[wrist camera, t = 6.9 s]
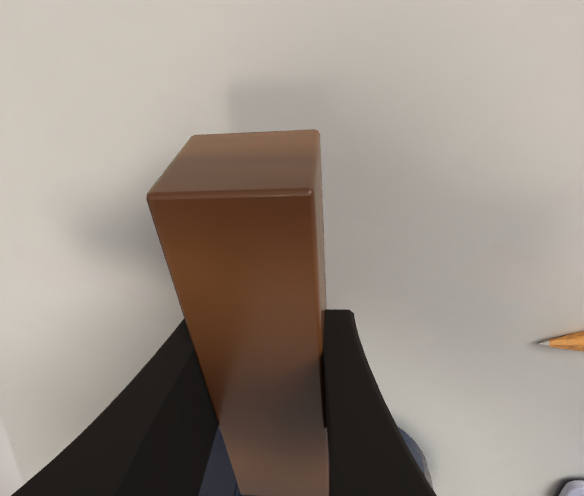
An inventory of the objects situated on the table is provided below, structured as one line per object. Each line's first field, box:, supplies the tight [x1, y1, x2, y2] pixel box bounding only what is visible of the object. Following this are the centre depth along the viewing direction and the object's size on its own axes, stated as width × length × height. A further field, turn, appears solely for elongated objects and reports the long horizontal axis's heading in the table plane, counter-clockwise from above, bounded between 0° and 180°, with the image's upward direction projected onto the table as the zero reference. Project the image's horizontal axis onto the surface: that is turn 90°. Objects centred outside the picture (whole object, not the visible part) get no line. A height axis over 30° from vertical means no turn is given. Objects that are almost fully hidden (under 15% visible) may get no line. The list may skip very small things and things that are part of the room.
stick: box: [147, 130, 329, 496], centre depth 10 cm, size 10×3×3 cm, turn 4°
